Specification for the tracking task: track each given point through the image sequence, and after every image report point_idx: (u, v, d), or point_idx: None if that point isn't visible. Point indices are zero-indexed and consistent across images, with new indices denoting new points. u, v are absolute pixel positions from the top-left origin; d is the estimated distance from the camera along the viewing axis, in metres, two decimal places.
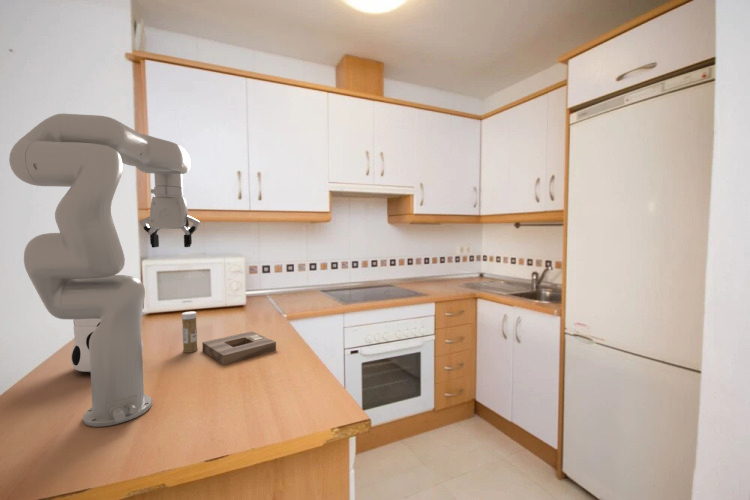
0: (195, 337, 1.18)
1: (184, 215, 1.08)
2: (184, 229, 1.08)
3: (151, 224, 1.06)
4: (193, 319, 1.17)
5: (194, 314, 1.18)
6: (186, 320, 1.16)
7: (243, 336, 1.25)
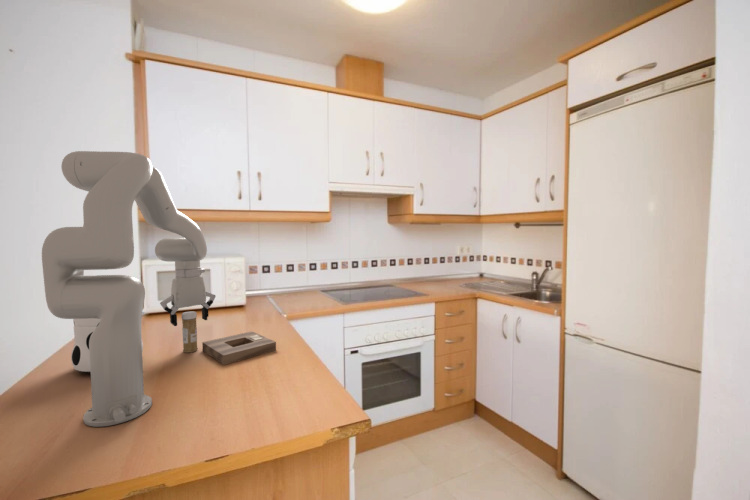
0: (195, 337, 1.18)
1: (171, 295, 1.16)
2: None
3: None
4: (193, 319, 1.17)
5: (194, 314, 1.18)
6: (186, 320, 1.16)
7: (243, 336, 1.25)
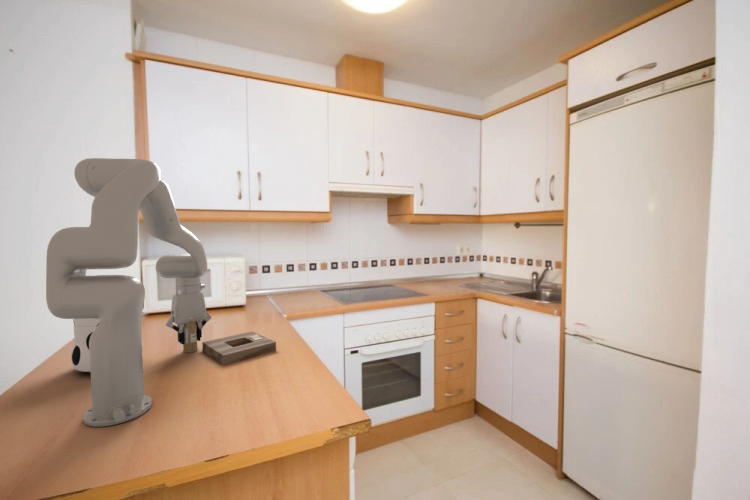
0: (195, 337, 1.18)
1: (171, 311, 1.16)
2: None
3: None
4: None
5: None
6: None
7: (243, 336, 1.25)
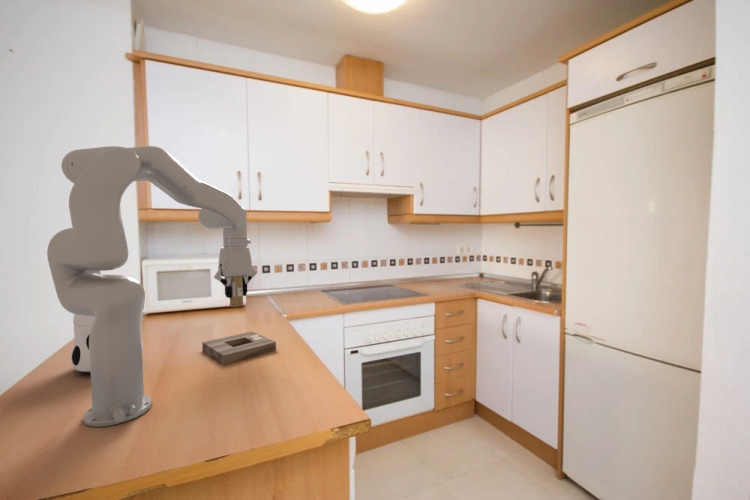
0: (241, 291, 1.17)
1: None
2: None
3: None
4: None
5: None
6: None
7: (243, 336, 1.25)
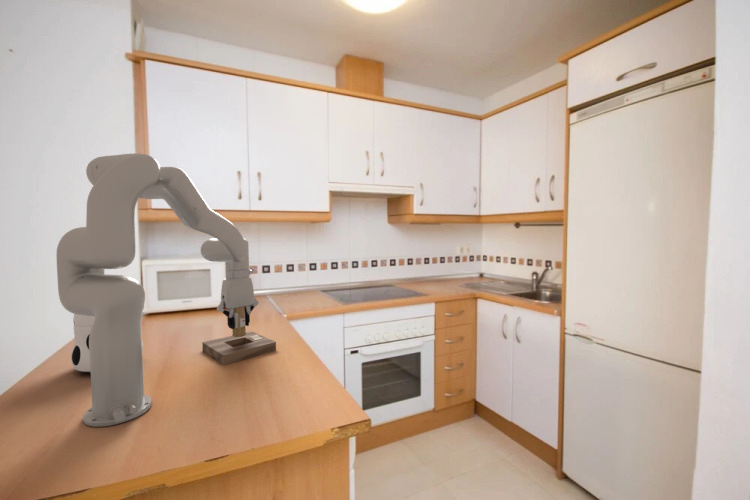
0: (244, 322, 1.18)
1: (221, 296, 1.16)
2: None
3: None
4: None
5: None
6: None
7: (243, 336, 1.25)
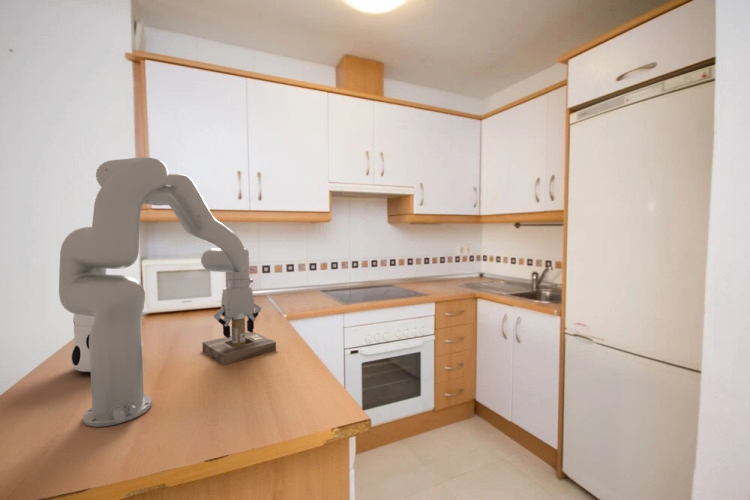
0: (244, 337, 1.18)
1: (221, 305, 1.16)
2: None
3: None
4: (242, 319, 1.17)
5: (243, 314, 1.18)
6: (236, 320, 1.16)
7: None
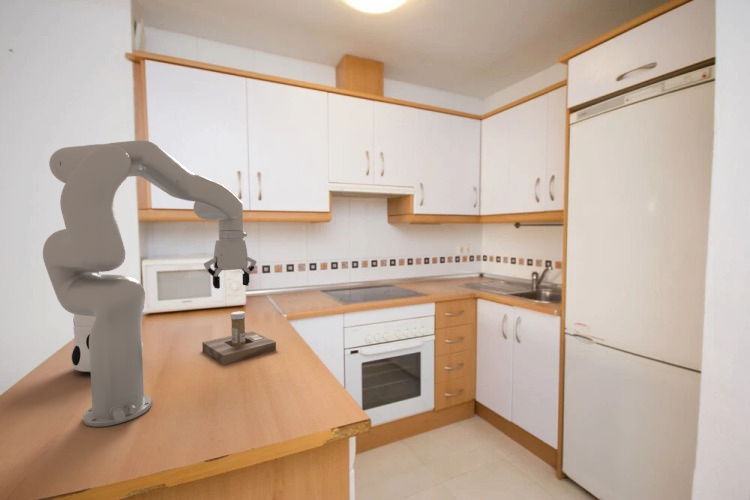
0: (244, 337, 1.18)
1: (214, 257, 1.13)
2: None
3: None
4: (242, 319, 1.17)
5: (243, 314, 1.18)
6: (236, 320, 1.16)
7: None
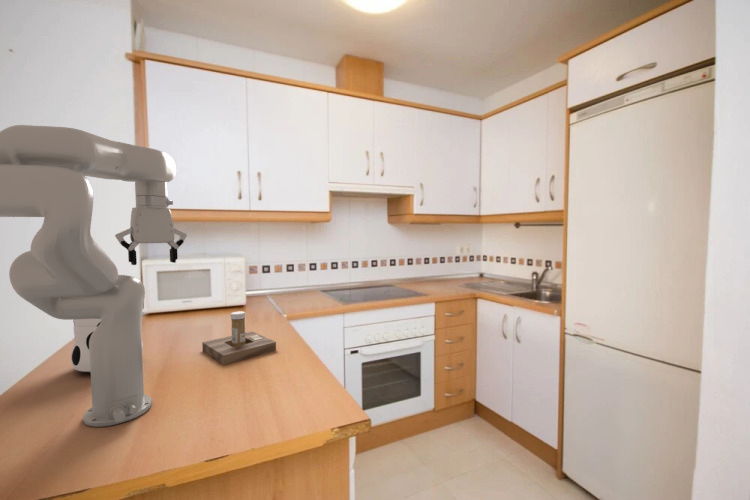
0: (244, 337, 1.18)
1: (130, 228, 0.95)
2: None
3: None
4: (242, 319, 1.17)
5: (243, 314, 1.18)
6: (236, 320, 1.16)
7: None
